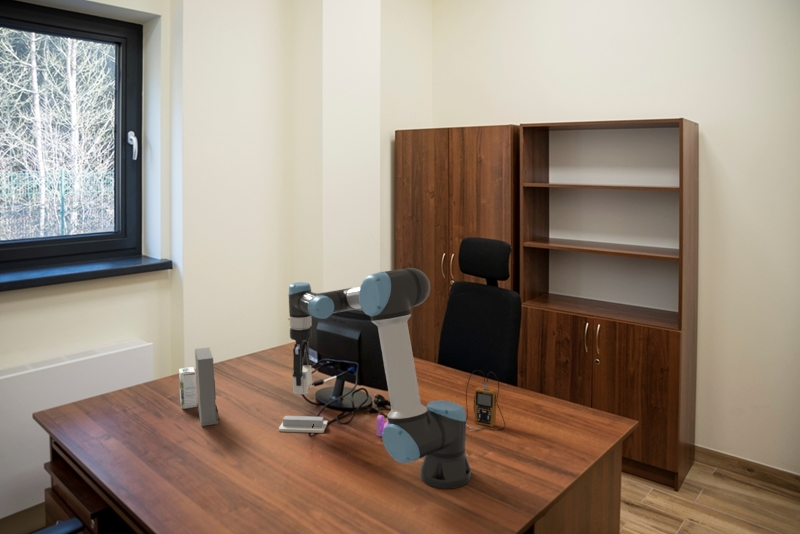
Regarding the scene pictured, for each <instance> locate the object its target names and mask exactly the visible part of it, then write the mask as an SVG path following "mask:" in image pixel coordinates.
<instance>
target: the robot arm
mask: <svg viewBox="0 0 800 534" xmlns="http://www.w3.org/2000/svg"><path fill="white" fill-rule="evenodd" d="M430 292H431V283H430V279H429V278H428V276H427V275H426V274H425V273H424V272H423V271H422V270H420V269H417V268H413V267H406V268H402V269H401V268H400V269H394V270H386V271H379V272H376V273H372V274H369V275H367V276H366V277H365V278H363V280H362V283H361V284H360V285H358V286H353V287H348V288H343V289H336V290H331V291H324V292H318V293H316V292H313V291H312V288H311V285H310V283H309V282H302V281H300V282H293V283H291V284H289V286H288V295H287V296H288V311H289V312H288V313H289V317H287V320H288V321H289V326H290V328H289V339H291V340H293V341H295V343H294V347H293V348H292V352H293V353H292V355H293V362H292V363H293V366H292V367H293V368H292V369H293V371H292V378H293V377H295V395H305V394H304V389H303V376H302V371H303V365H311V364H310V362H311V361H310V347H309V341H310V339H311V338H312V335H313V332H312V331H313V330H312V329H313V328H312V319H313V318H316V319H322V320H323V319H328V318H329V317H330V316H331V315H332V314H336V313H342V312H347V311H353V310H359V309H361V310H362V311H363V313H365V315H367V316H369V317H370V322H371V323H372V324H374V325H375V326H377V330H378V336H379V337H378V338H379V342H380V349H381V353H382V354H381V355H382V361H383V367H384V373H385V378H386V383H387V389H388V395H389V401H390V407H391V410H389V413H387V421H388V423H389V424H388V425H387V426H386V427H385V428H384V429H383V432H382V437H381V438H382V443H383V446H384V448H385V450H386V451H387V453H388V454H389V456H390V457H391V458H392V459H393V460H395V461H396V462H397V463H400V464H408V463H411V462H412V463H413V462H416V461H418V460H419V459H422V458H423V461H422V463H421V467H420V479H421V480H422V481H423V482H424V483H425V484H426V485H429V486H431V487H433V488H436V489H437V488H438V489H444V490H445V489H446V490H447V489H456V488H460V487H463V486H465V485H467V484H468V483H469V482H470V480H471V467H470V464H469V461H468V460H469V459H468V457H467V454H466V439H467V438H466V435H467V434H466V433H467V426H466V424H467V421H466V420H467V411H466V409H465V407H464V406H463V405H461V404H459V403H457V402H453V401H450V400H444V399H443V400H442V399H437V400H431V401H429V402H428V403H427V404H426V406H424V405H423V403H422V402H421V397H420V396H421V395H420V390H419V383H418V379H417V371H416V366H415V359H414V355H413V353H414V352H413V349H412V343H411V336H410V331H409V325H408V321H409V319H410V318H411V316H412V311H411V308H415V307H417V306H420V305H421V304H423V303H424V302H426V300H427V299H428V298H429V295H430ZM312 317H313V318H312ZM311 366H312V365H311Z"/></svg>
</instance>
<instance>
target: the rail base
mask: <svg viewBox="0 0 800 534" xmlns="http://www.w3.org/2000/svg"><path fill="white" fill-rule="evenodd" d="M313 424H314V427H313V428H312V426H313ZM327 426H328V420H324V416H311V415H310V416H309V415H308V416H305V415H304V416H303V415H302V416H301V415H285V416H284V417H283V418H282V422H281V424H280V425H279V427H278V430H277V431H278V432H283V433H284V432H286V433H289V432H290V433H292V432H293V433H315V434H316V433H318V434H319V433H320V434H324V432H325V431H326V428H327Z"/></svg>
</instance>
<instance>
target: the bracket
mask: <svg viewBox="0 0 800 534" xmlns="http://www.w3.org/2000/svg"><path fill="white" fill-rule="evenodd" d="M388 424H389V423H388V420H387V421H385V416H384V415H382V414H381V415H380V414H378V415H377V417H376V425H375V426H376V437H381V438H382V432H383V429H384V428H385V427H386V426H387V425H388Z"/></svg>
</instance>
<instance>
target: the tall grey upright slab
mask: <svg viewBox="0 0 800 534" xmlns="http://www.w3.org/2000/svg"><path fill="white" fill-rule="evenodd" d="M194 357H195V358H194V359H195V373H196V394H197V407H198V408H197V412H198V416H199V417H198V418H199V423H200V426H201V427H205V426H213V425H218V424H219V409H218V407H217V404H216V403H217V402H216V400H217V398H216V380H215V368H214V365H215V363H214V357H213V354H212V351H211V349H210V347H203V348H201V347H200V348H195V349H194Z"/></svg>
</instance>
